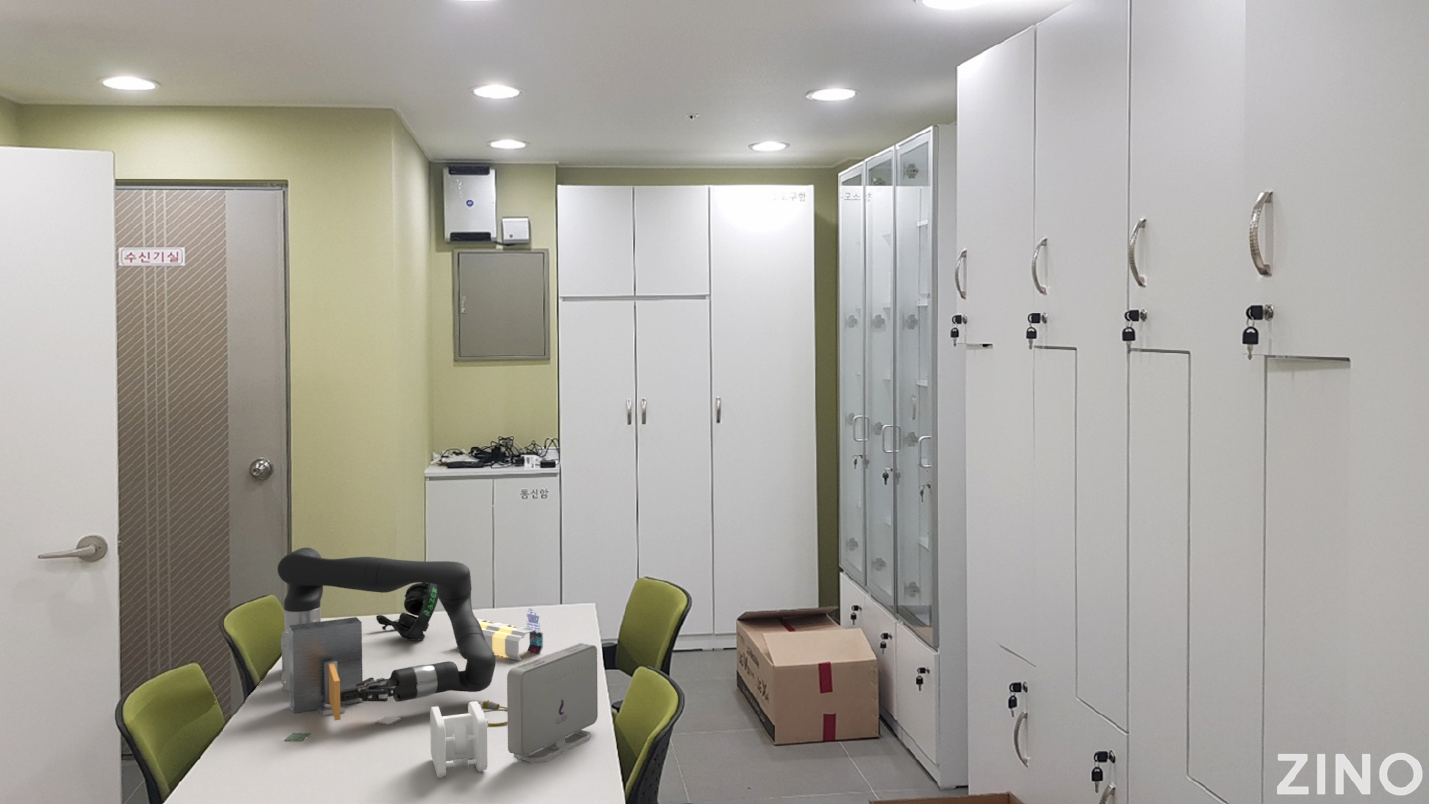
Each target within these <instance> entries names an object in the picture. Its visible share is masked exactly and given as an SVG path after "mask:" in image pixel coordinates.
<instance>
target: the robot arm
mask: <svg viewBox="0 0 1429 804" xmlns="http://www.w3.org/2000/svg"><path fill="white" fill-rule="evenodd" d="M277 573H278V576H279V578H280V579H281V580H282V581H283V582H284V583H286V584H287V585H288V586H289V588H288V592H287V594H286V596H285V598H284V600H283V612H284V631H287V630H289V626H290V625H298V624H306V623H313V622H321V621H322V620H321V619H322V618H321V616H322V615H321V614H322V613H321V601H322V597H323V593H324V587H334V588H335V587H336V588H341V589H346V590H347V589H348V590H356V591H362V592H371V593H382V594H384V593H390V592H394V591H397V590H399V589H402V588H404V587H406V586H409V585H413V584H417V583H432V584H436V588H437V595H438V601H439V602H440V604H441V605H442V607H443V609H444V610H445V612H446V614H447V616H448V618H449V620H450V623H451V626H452V631H453V636H454V639H455V643H457V644H456V646H457V649H458V652H459V655H460V656H461V657H462V659H464V660H466V662H465V663H466V664H465V669H464V670H459V668H458V666H457V664H456V663H455V662H454V661H451V660H449V661H443V662H436V663H430V664H419V665H415V666H414V665H413V666H408V667H404V668H403V667H401V668H398V669H397V668H396V669H394V670H392V672H391V674H390V677H389V678H385V677H380V678H377V679H374V677H373V676H372V677H369V678H366V679H365V680H363V681H362V682H360V683H358V684H356V687H355V688H353V689H347V690H342V691H340V701H341V702H344V701H349V700H354V699H357V700H362V701H363V702H369V703H370V702H373V703H374V702H375V703H376V702H382V703H383V702H385V703H386V702H388V701H389V698H391V697H393V698H392V699H394V701H395V702H396V703H400V702H406V701H409V700H414V699H420V698H424V697H428V696H431V695H434V694H440V693H446V692H448V691H451V692H467V693H478V692H482V691H484V690H485V689H487V688H489V687H490V685H491V683H492V680H493V677H494V672H495V668H496V666H497V665H496V660H497V659H496V655H494V652H493V651H492V649H491V648H490V646H489V645H488V644H487V643H486V641H485V637H484V634H483V631H482V628H481V626H480V623H479V622H478V620H477V619H476V618H477V617H476V616H475V614H474V611H473V608H472V607H473V606H472V579H471V577H472V576H471V570H470V568H469V567H468V566H467V565H466V564H464V563H462V562H459V561H448V560H447V561H445V560H444V561H443V560H442V561H436V560H434V561H431V560H430V561H423V560H422V561H421V560H417V561H416V560H405V559H403V560H402V559H393V558H386V557H385V558H384V557H377V556H357V557H355V556H354V557H345V558H325V557H324V558H322V556H321V554H320V553H319V551H317V550H316V549H314V548H311V547H302V548H299V549H296V550H294V551H291V552H289V553H287V554H286V555H285V556H283V557H282V558H281V559H280V561H279V563H278V565H277ZM285 645H286V644H283V646H285ZM284 671H285V664H284V649H281V673H282V672H284Z"/></svg>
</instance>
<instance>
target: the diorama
mask: <svg viewBox="0 0 1429 804" xmlns="http://www.w3.org/2000/svg"><path fill="white" fill-rule="evenodd" d="M527 612H528V613H527V614H526V616H527V620H528V621H526V627H524V626H522V627H519V628H518V627H516V626H515V625H511V624H509V623H504V622H494V623H493V622H492V621H489V620H486V619H483V618H478V617H476V619H477V620H478V622H479V623H480V626H481V628H482V631H483V634H484V637H485V641H486V643H487V644H488V645H489V646H490V648H491V649H492V651H493V652H494V654H495V656H497V655H500V656H499V657H501V656H503V657H502V658H506V657H507V658H506V659H510V658H512V659H511V660H515V659H516V660H515V661H519V660H520V662H521V661H522V658H521V657H520V655H519V653H520V651H519V647H520V641H521V639H524V638H525V636H526V635H527V634H529V645H528V649H527V652H528V651H530V652H529V653H533V652H534V654H538V653H539V654H540V653H541V654H542V651H543V649H544V633H543V632H542V631H541V625H540V624H539V619H540V616H539V615H537V613H536V612H534V609H533V608H530V607H529V609H528V611H527ZM455 643H456V642H455ZM456 645H457V643H456ZM541 654H540V655H541Z"/></svg>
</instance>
